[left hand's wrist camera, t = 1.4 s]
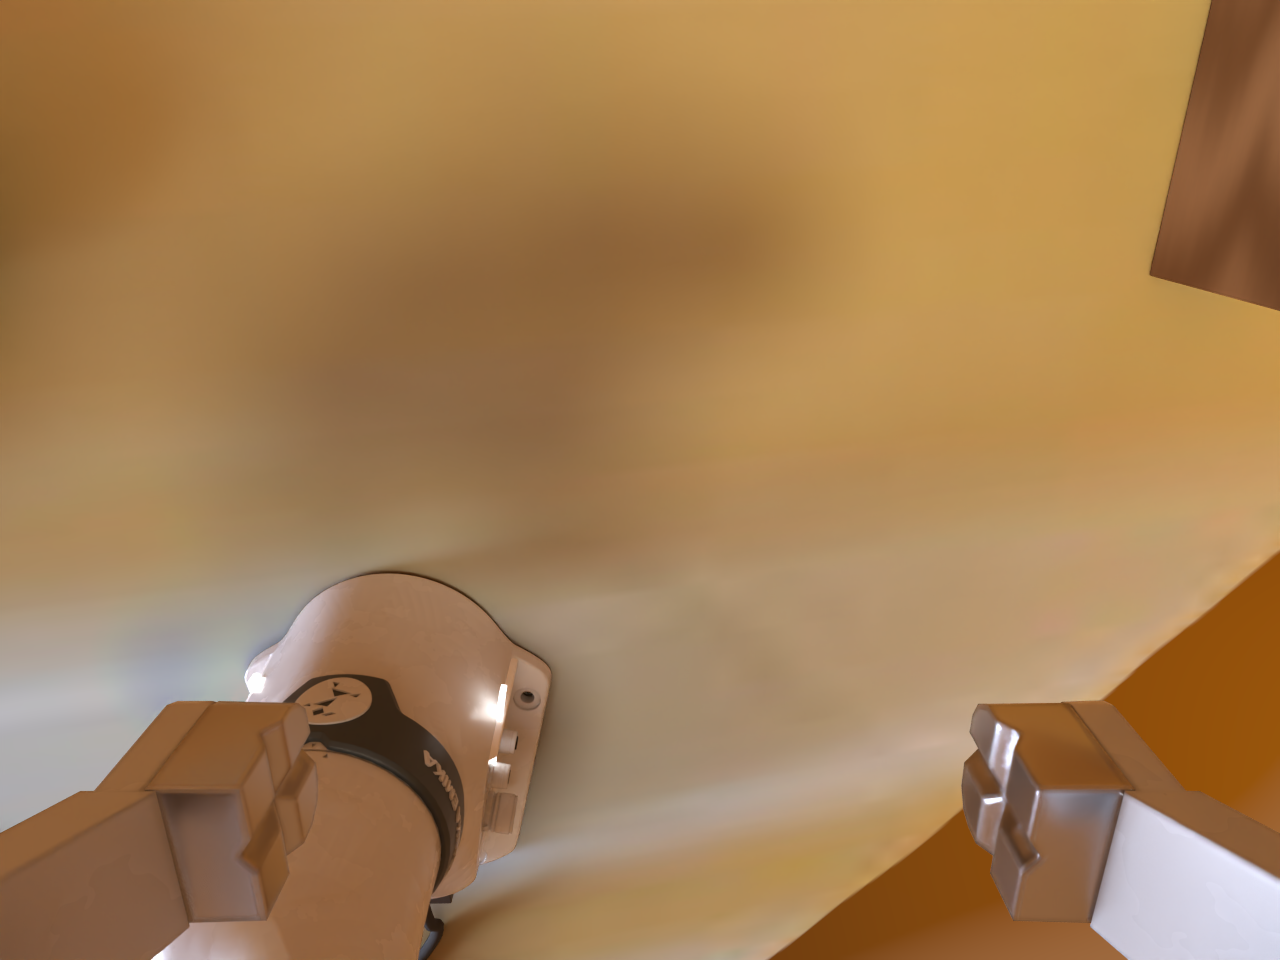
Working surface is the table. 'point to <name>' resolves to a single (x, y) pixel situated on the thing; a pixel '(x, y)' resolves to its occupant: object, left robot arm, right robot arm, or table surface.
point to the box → (1229, 162)
